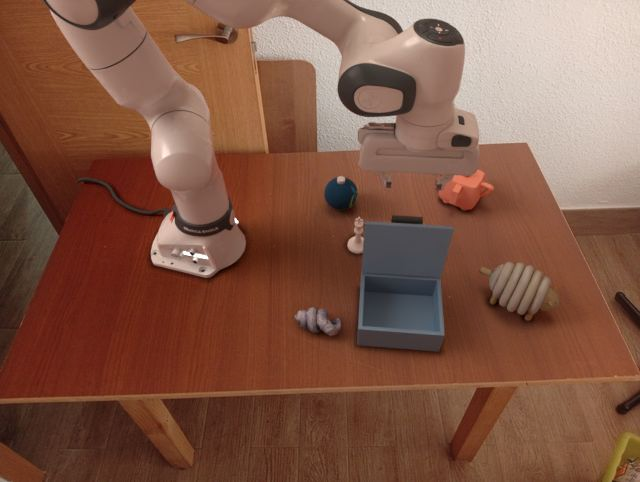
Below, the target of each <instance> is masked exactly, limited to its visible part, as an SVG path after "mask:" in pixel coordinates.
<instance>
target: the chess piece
mask: <svg viewBox="0 0 640 482" xmlns="http://www.w3.org/2000/svg"><path fill="white" fill-rule="evenodd" d="M354 226H355V227H354V229H353V232H354V234H355V236H352V237H350V238H349V239H348V240H347V244H346V245H347V249H348V251H350V252H351V253H353V254H363V242H364V236H362V234H363V233H364V228H363V226H364V219H362V218H361V216H358V217H357V218H355V219H354Z"/></svg>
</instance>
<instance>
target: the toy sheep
mask: <svg viewBox="0 0 640 482" xmlns="http://www.w3.org/2000/svg"><path fill="white" fill-rule="evenodd" d="M478 273H479V274H481V275H484V276H485V277H487V278H488V286H489V290H490V291H491V292H492V293H491V294H492V295H491V297H490V300H489V303H490V304H491V305H495V304H496V303H497V301H498V300H499V301H498V304H499V305H500V307H503V308H504V307H506V309H507V311H508V312H509V313H513V312H515V311H516V313H517V314H518V315H520V316H523V315H525V316H524V320H525V321H527V322H529V321H531V320H532V318H533V316H534V315H535V314H537V313H538V311H539V310H541V311H544V312H554V311H557V310H558V309H559V307H560V302H561V301H560V296H559V295H558V293H557V292H556V291H557V290H558V288H557V287H556V286H555V285H554V286H553V287H551V283H552V282H551V281H552V280H551V278H550V277H549V276H546V275H545V276H544V273H543V271H541V270H540V269H535V268H534V266H533V265H532V264H528V265H525V264H524V263H523V262H521V261H519V262H517V263H516V264H515V263H514V262H513V261H507V262H505V263H501V264H499V265H498V266H496V267H494V269H492V270H491V269H489V268H487V267H484V266H480V267H479V269H478Z"/></svg>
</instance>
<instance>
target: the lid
mask: <svg viewBox="0 0 640 482" xmlns="http://www.w3.org/2000/svg"><path fill="white" fill-rule="evenodd" d="M454 231H455V228H454V226H453V225H439V224H424V217H423V216H415V215H395V214H392V215H391V222H388V221H387V222H386V221H372V220H371V221H370V220H369V221H368V220H365V221H364V227H363V238H364V242H363V253H362V256H361V257H362V259H361V270H360V271H361V273H377V274H392V275H407V276H422V277H437V278H441V279H442V276H443V272H444V269H445V265H446V261H447V257H448V253H449V250H450V245H451V241H452V238H453V234H454Z"/></svg>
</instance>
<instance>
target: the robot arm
mask: <svg viewBox="0 0 640 482" xmlns="http://www.w3.org/2000/svg"><path fill="white" fill-rule="evenodd" d="M41 1H42V2H43V4H44V5H45V6H46V8H48V9H49V12H50V14H51V16H52V18H53V20H54V22H55V23H56V26H57V27H58V28H59V31H60V32H61V33H62V35H63V37H64V38H65V39H66V41H67V43H68V44H69V45H70V47H71V49H72V50H73V51H74V53H75V54H76V56H77V57H78V58H79V59H80V60H81V62H82V63H83V64H84V66H85V67H86V68H87V69H88V70H89V71H90V73H91V74H92V75H93V77H94V78H95V79H96V80H97V81H98V83H99V84H100V85H101V86H102V88H104V90H105V91H106V92H107V93H108V94H109V96H110V97H111V98H112V99H113V100H114V102H115V103H116V104H117V105H119V106H120V107H121V108H124V109H127V110H134V111H136V113H138V114H139V115H140V116H141V117H143V119H145V121H146V122H147V125H148V127H149V130H150V135H151V136H150V158H151V164H152V167H153V170H154V173H155V177H156V179H157V181H158V182H159V184H160V185H161V186H163V188H166V189H167V190H169V191H170V193H171V195H172V198H173V201H174V203H173V205H172V206H171V209H170V208H158V209H155V210H143V209H140V208H137V207H134V206H131V205H130V204H128V203H126V202H124V201H123V200H121V199H120V198H119V197H118V195H117V194H116V192H115V190H114V188H113V187H112V186H111V185H110V184H108V183H107V182H105V181H103V180H100V179H98V178H93V177H80V178H78V179H77V180H76V183H77V184H79V183H81V182H92V183H96V184H99V185H102V186H104V187H106V188H107V189H108V190H109V192H110V193H111V195H112V198H113V199H114V200H115V201H116V202H117V203H118V204H120V205H121V206H122V207H124V208H126V209H128V210H129V211H132V212H134V213H138V214H142V215H149V216H150V215H151V216H153V215H156V214H159V213H163V217H162V222H161V223H160V226H159V229H158V232H157V233H156V235H155V237H154V239H153V241H152V244H151V248H150V258H151V259H150V260H151V262H152V265H154V266H156V267H160V268H164V269H168V270H172V271H175V272H180V273H184V274H188V275H191V276H196V277H200V278H204V279H210V278H212V277H213V276H215V275H216V274H217V273H218V272H219V271H221V270H223V269H225V268H228V267H229V266H231V265H233V264H234V263H236V262H238V260H239V259H240V258H242V255H243V254H244V252H245V251H246V248H247V247H246V246H247V240H246V236H245V234H244V233H243V231H242V230H241V229H240V227H239V225H238V224H239V220H237V218H236V214H235V210H234V206H233V203H232V200H231V198H230V196H229V195H228V191H227V186H226V183H225V179H224V176H223V172H222V171H221V169H220V167H219V164H218V162H217V161H218V160H217V157H216V152H215V147H214V146H215V145H214V138H213V130H212V121H211V111H210V108H209V107H208V104H207V102H206V99H205V97H204V95H203V93H202V92H201V91H200V89H198V88H197V87H196V86H194V84H192V83H189V82H187V81H186V80H185V79H184V78H183V77H182V76H181V75H180V74H179V73H178V72H177V71H176V70H175V69H174V68H173V66H172V65H171V63H170V62H169V61H168V59H167V58H166V56H165V55H164V53H163V52H162V50H161V49H160V47H159V46H158V44H157V43H156V41H155V40H154V38H153V37H152V36H151V34H150V32H149V30H147V28H146V26H145V25H144V24H143V22H142V21H141V20H140V18H139V17H138V15H137V14H136V13H135V11H134V9H133V7H132V5H134V3H135V2H137V0H41ZM184 1H185V2H186V3H188V4H189V5H190V6H192V7H194V8H195V9H196V10H198V11H199V12H201V13H203V14H204V15H205V16H208V17H209V18H210V19H212V20H214V21H215V22H218V23H219V24H222V25H224V26H226V27H230V28H232V29H235V30H246V29H251V28H254V27H257V26H259V25H261V24H263V23H265V22H267V21H269V20H271V19H274V18H280V17H281V18H283V17H285V18H290V19H293V20H295V21H297V22H300V23H301V24H303V25H304V26H306V27H307V28H309V29H311V30H313V31H314V32H316V33H317V34H319V35H321V36H323V37H324V38H326V39H328V40H329V41H331V42H332V43H333V44H335V46H336V47H337V49H338V51H339V53H340V55H341V60H340V64H339V70H338V71H339V72H338V80H337V88H336V89H337V95H338V99H339V100H340V102H341V104H342V105H343V106H344V107H345V108H346V110H348V111H349V112H351V113H353V114H354V115H356V116H360V117H364V118H386V117H395V122H374V121H369V122H367V124H364V125H362V126H360V127H359V129H358V131H357V141H358V143H359V145H360V147H359V155H358V167H359V168H360V170H361V171H362V172H373V173H374V172H376V173H377V175H378V177H379V178H380V179H381V181H382V188H383V189H384V188H387V189H391V188H392V183H393V179H392V178H393V176H392V174H388V173H396V174H397V173H398V174H399V173H400V174H402V173H403V174H419V175H420V174H421V175H438V176H439V177H438V176H436V177H435V182H434V189H435V191H439V190H444V187H445V184H447V183H448V182H449V181H450V180H452V179H453V176H454V175H461V176H471V175H473V174H474V173H475V172H476V171H477V169H478V170H479V165H478V164H480V157H481V156H480V155H481V154H480V153H481V152H480V145H479V142H480V129H479V124H478V120H477V117H476V115H475V114H474V113H472V112H470V111H466V110H463V109H460V108H457V107H456V106H455V99H456V97H457V96H458V94H459V91H460V89H461V84H462V79H463V74H464V68H465V67H464V66H465V61H466V42H465V40H464V38H463V36H462V33H461V32H460V31H459V30H458V29H457V27H455V26H454V25H452V24H450V22H447V21H445V20H442V19H438V18H430V17H429V18H421V19H418V20H416V21H415V22H413V23H412V24H411V25H410V26H409V27H408V28H406V29H405V30H404V29H403V27H402V26H401V24H400V23H399V22H398V21H397V20H396V19H395V18H393V17H392V16H390V15H389V14H387V13H384V12H381V11H379V10H378V11H377V10H373V9H370V8H366V7H362V6H359V5H357V4H355V2H352V1H351V0H184ZM440 175H443V176H442V177H440Z"/></svg>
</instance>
